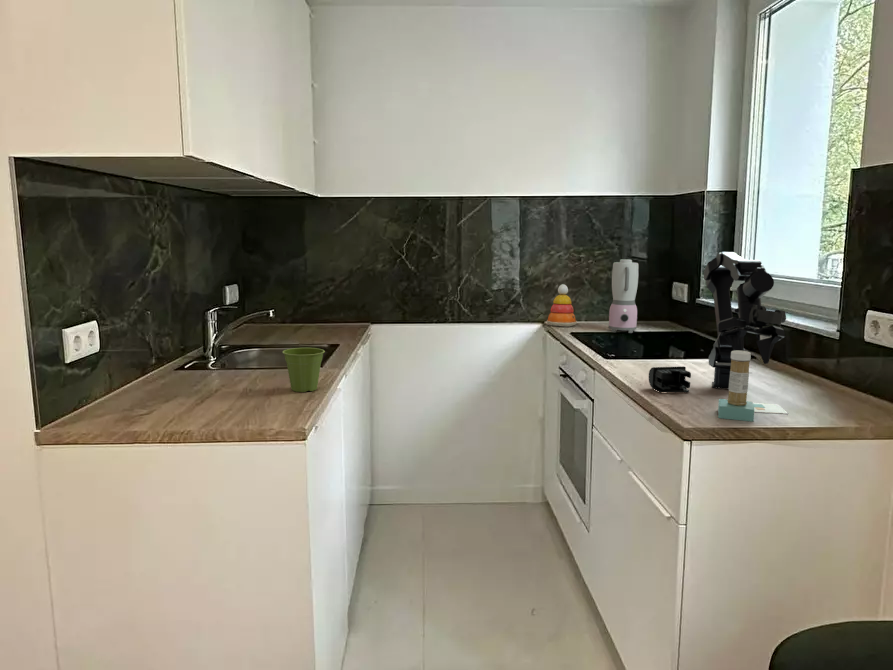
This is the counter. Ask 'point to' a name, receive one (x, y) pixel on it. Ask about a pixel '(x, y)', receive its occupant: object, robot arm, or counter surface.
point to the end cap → (669, 379)
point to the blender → (624, 296)
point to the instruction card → (768, 408)
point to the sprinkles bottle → (739, 377)
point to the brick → (735, 411)
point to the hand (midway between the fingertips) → (753, 361)
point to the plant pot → (303, 367)
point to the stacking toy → (562, 310)
